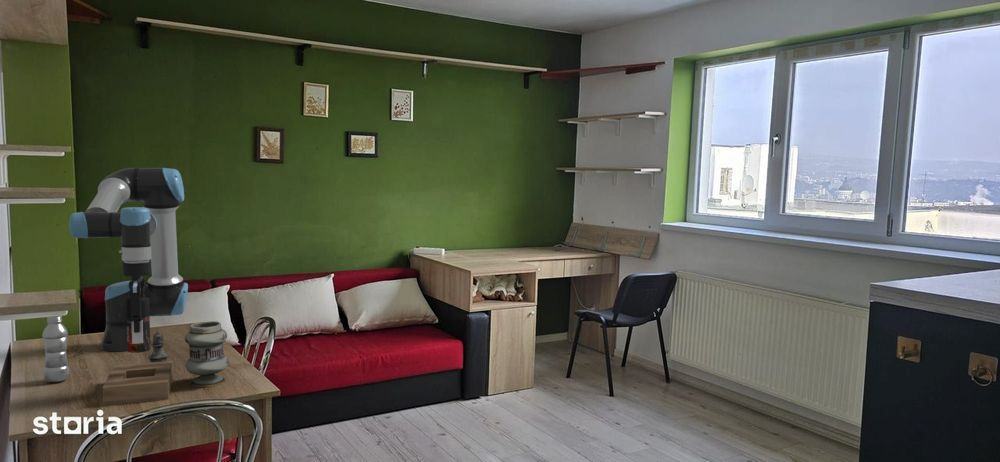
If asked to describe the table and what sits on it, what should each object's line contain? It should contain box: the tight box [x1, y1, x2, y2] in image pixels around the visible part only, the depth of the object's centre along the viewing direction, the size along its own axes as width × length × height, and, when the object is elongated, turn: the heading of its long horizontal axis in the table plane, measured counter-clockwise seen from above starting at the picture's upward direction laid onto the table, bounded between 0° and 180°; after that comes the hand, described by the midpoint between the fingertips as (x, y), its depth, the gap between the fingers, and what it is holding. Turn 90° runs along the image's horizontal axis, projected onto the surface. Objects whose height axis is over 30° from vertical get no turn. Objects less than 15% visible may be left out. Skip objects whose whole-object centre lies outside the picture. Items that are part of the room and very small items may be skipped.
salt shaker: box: [147, 330, 169, 363], centre depth 222 cm, size 6×6×12 cm
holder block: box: [102, 360, 174, 406], centre depth 200 cm, size 22×16×5 cm
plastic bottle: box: [41, 315, 71, 383], centre depth 205 cm, size 6×7×20 cm
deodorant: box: [126, 297, 152, 354], centre depth 198 cm, size 6×6×15 cm
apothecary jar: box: [184, 320, 230, 388], centre depth 208 cm, size 12×12×18 cm
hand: (138, 340), depth 198 cm, fingers closed on deodorant, 6 cm apart
